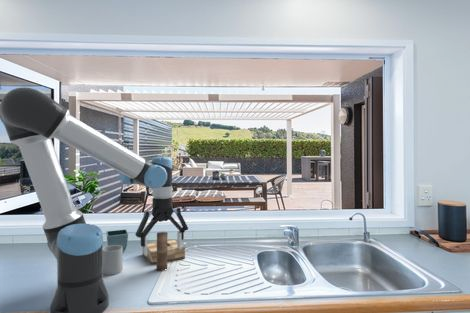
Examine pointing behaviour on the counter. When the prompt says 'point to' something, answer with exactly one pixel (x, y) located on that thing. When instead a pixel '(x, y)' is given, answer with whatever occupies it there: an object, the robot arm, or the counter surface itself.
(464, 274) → the counter surface
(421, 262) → the counter surface
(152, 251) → the socket block
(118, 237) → the flower pot
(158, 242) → the pin
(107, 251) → the cup
